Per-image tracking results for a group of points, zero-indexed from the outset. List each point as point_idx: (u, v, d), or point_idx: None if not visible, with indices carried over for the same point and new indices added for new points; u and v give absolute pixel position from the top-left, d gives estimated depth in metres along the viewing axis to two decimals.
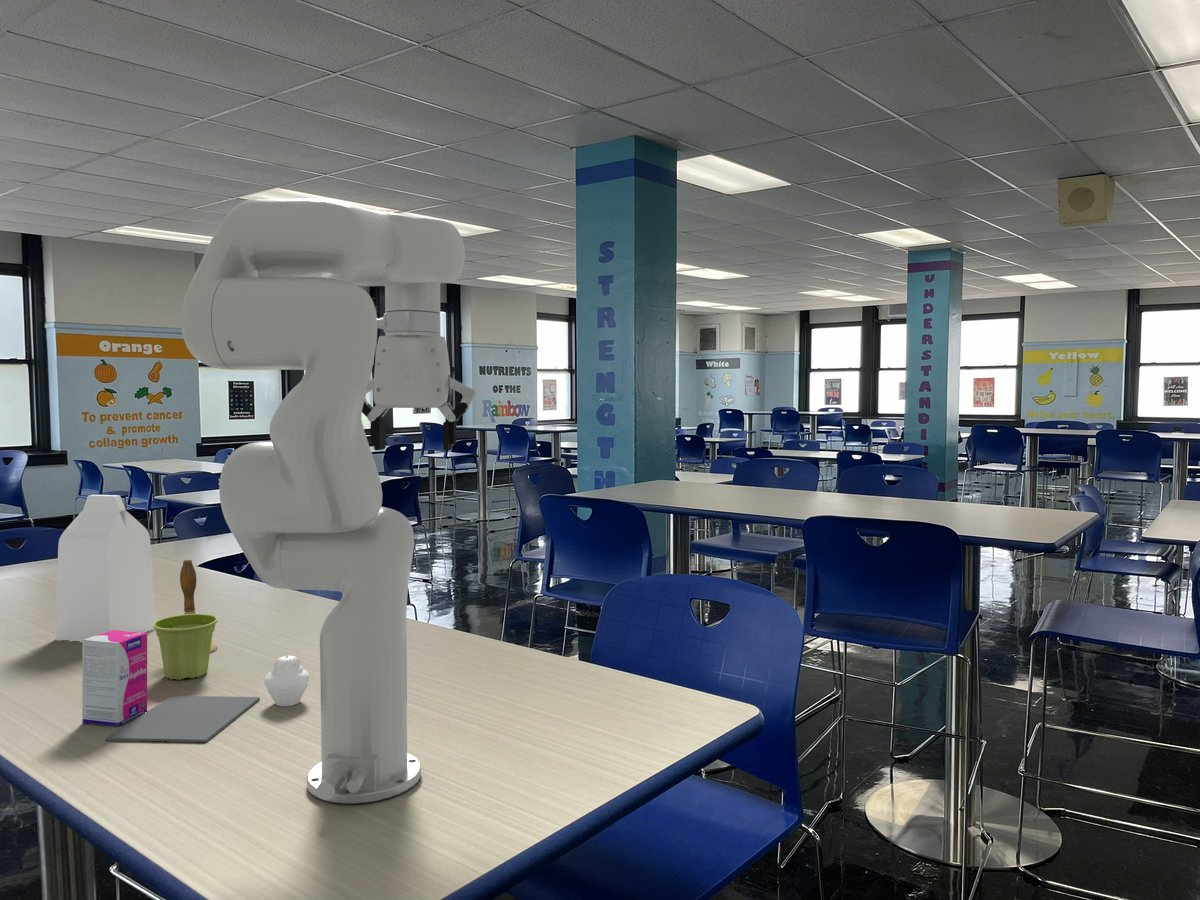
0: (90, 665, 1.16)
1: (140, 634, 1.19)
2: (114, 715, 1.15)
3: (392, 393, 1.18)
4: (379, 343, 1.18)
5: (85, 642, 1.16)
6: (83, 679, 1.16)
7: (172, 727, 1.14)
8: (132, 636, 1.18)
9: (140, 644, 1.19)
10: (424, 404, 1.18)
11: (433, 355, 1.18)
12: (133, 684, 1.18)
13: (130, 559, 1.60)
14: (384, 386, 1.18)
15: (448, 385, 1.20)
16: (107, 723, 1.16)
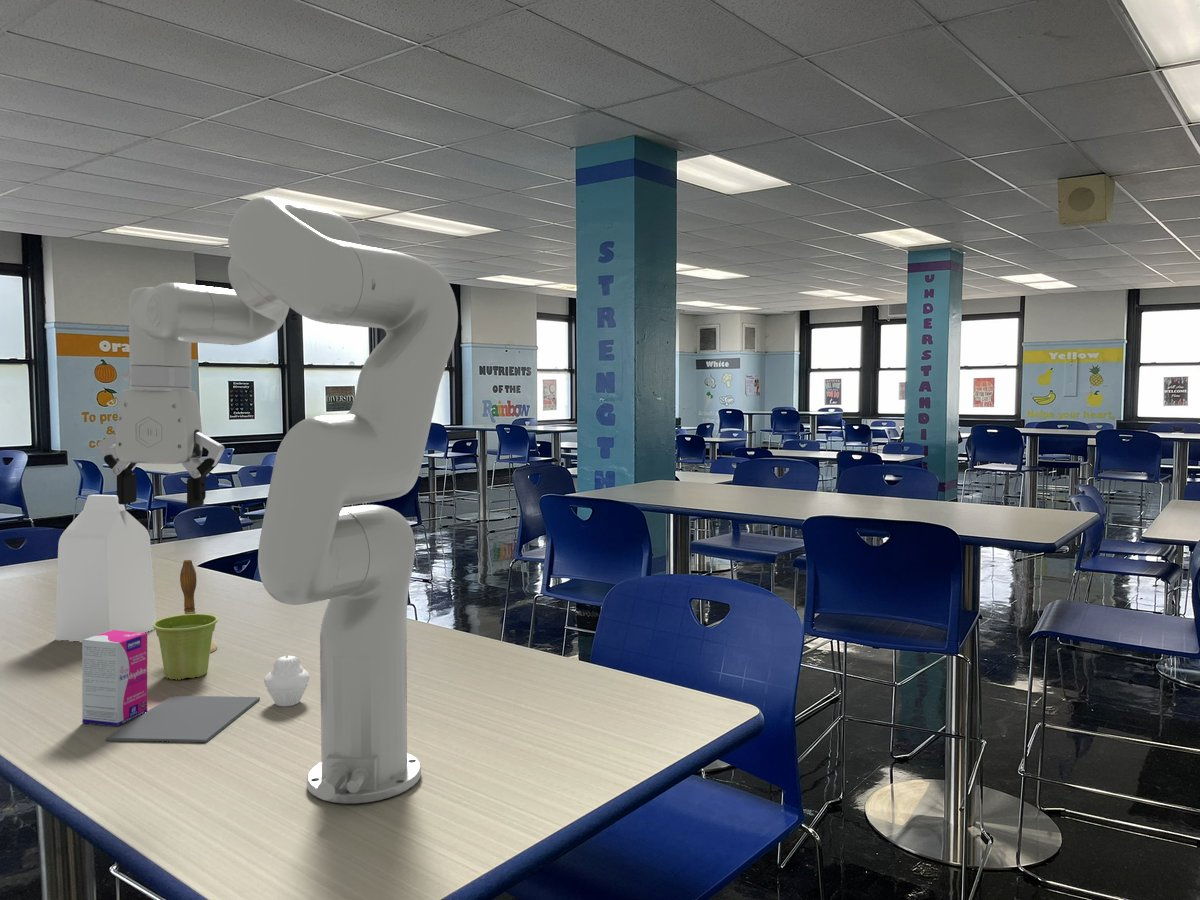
0: (90, 665, 1.16)
1: (140, 634, 1.19)
2: (114, 715, 1.15)
3: (133, 448, 1.16)
4: (122, 397, 1.16)
5: (85, 642, 1.16)
6: (83, 679, 1.16)
7: (172, 727, 1.14)
8: (132, 636, 1.18)
9: (140, 644, 1.19)
10: (165, 460, 1.16)
11: (175, 411, 1.15)
12: (133, 684, 1.18)
13: (130, 559, 1.60)
14: (125, 441, 1.16)
15: (193, 441, 1.17)
16: (107, 723, 1.16)
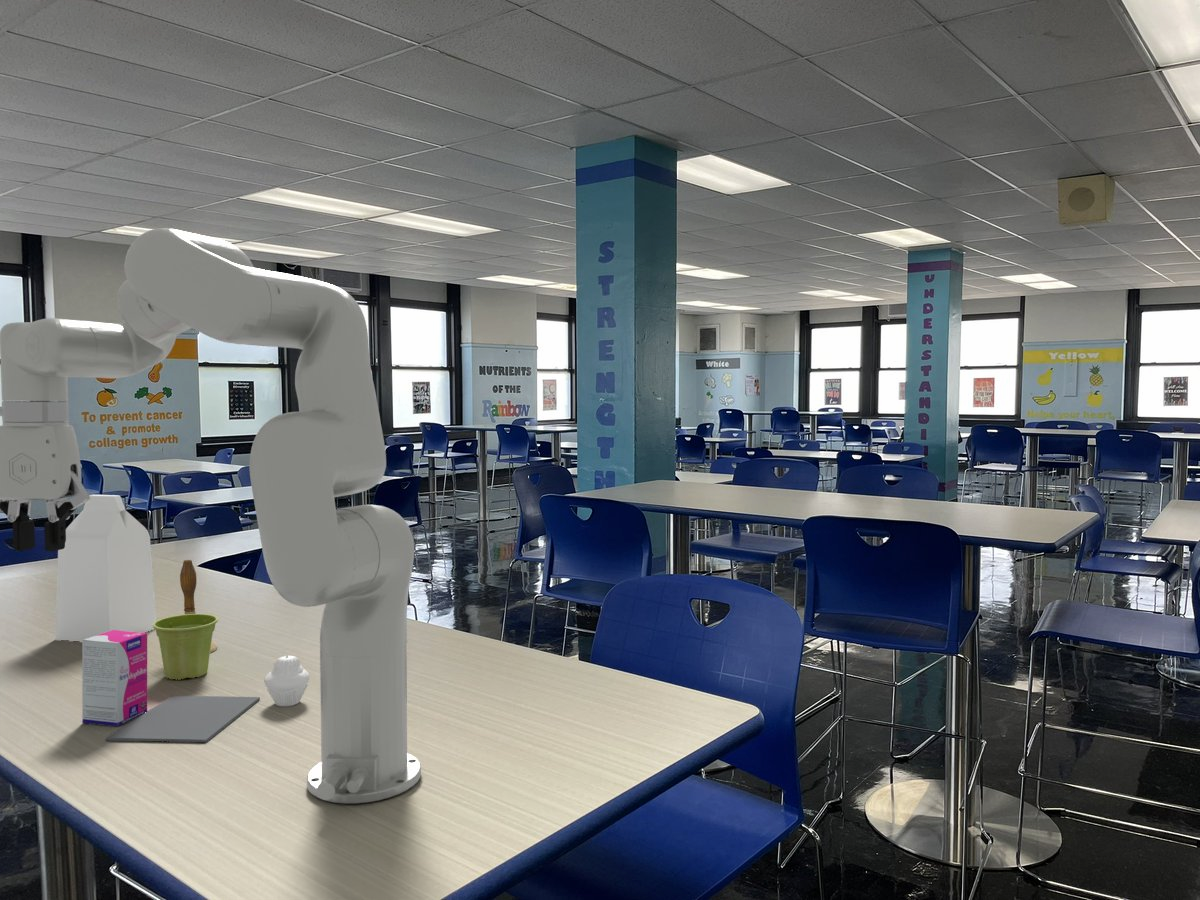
0: (90, 665, 1.16)
1: (140, 634, 1.19)
2: (114, 715, 1.15)
3: (7, 485, 1.15)
4: None
5: (85, 642, 1.16)
6: (83, 679, 1.16)
7: (172, 727, 1.14)
8: (132, 636, 1.18)
9: (140, 644, 1.19)
10: (40, 496, 1.15)
11: (49, 446, 1.14)
12: (133, 684, 1.18)
13: (130, 559, 1.60)
14: None
15: (70, 476, 1.16)
16: (107, 723, 1.16)
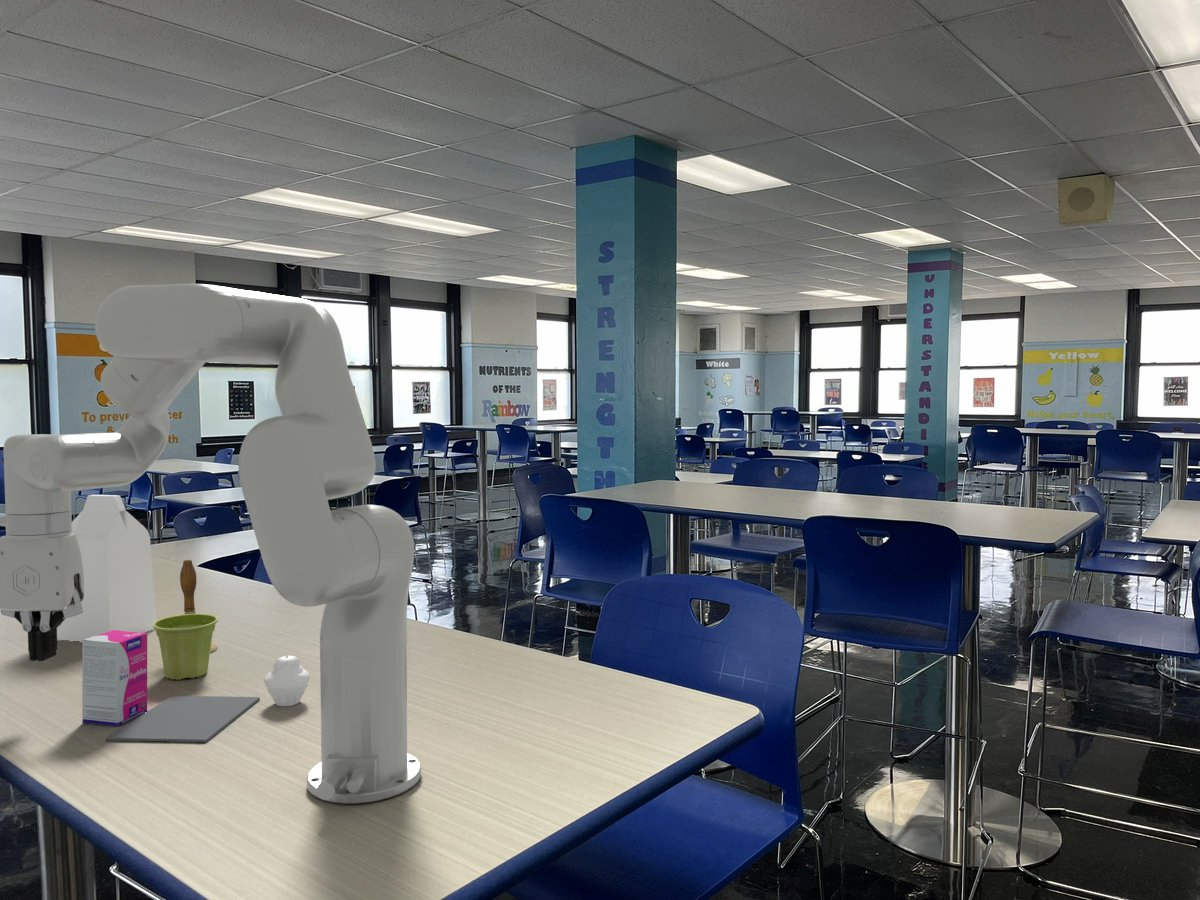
0: (90, 665, 1.16)
1: (140, 634, 1.19)
2: (114, 715, 1.15)
3: (11, 596, 1.15)
4: None
5: (85, 642, 1.16)
6: (83, 679, 1.16)
7: (172, 727, 1.14)
8: (132, 636, 1.18)
9: (140, 644, 1.19)
10: (43, 608, 1.15)
11: (52, 558, 1.15)
12: (133, 684, 1.18)
13: (130, 559, 1.60)
14: (2, 589, 1.15)
15: (73, 586, 1.17)
16: (107, 723, 1.16)
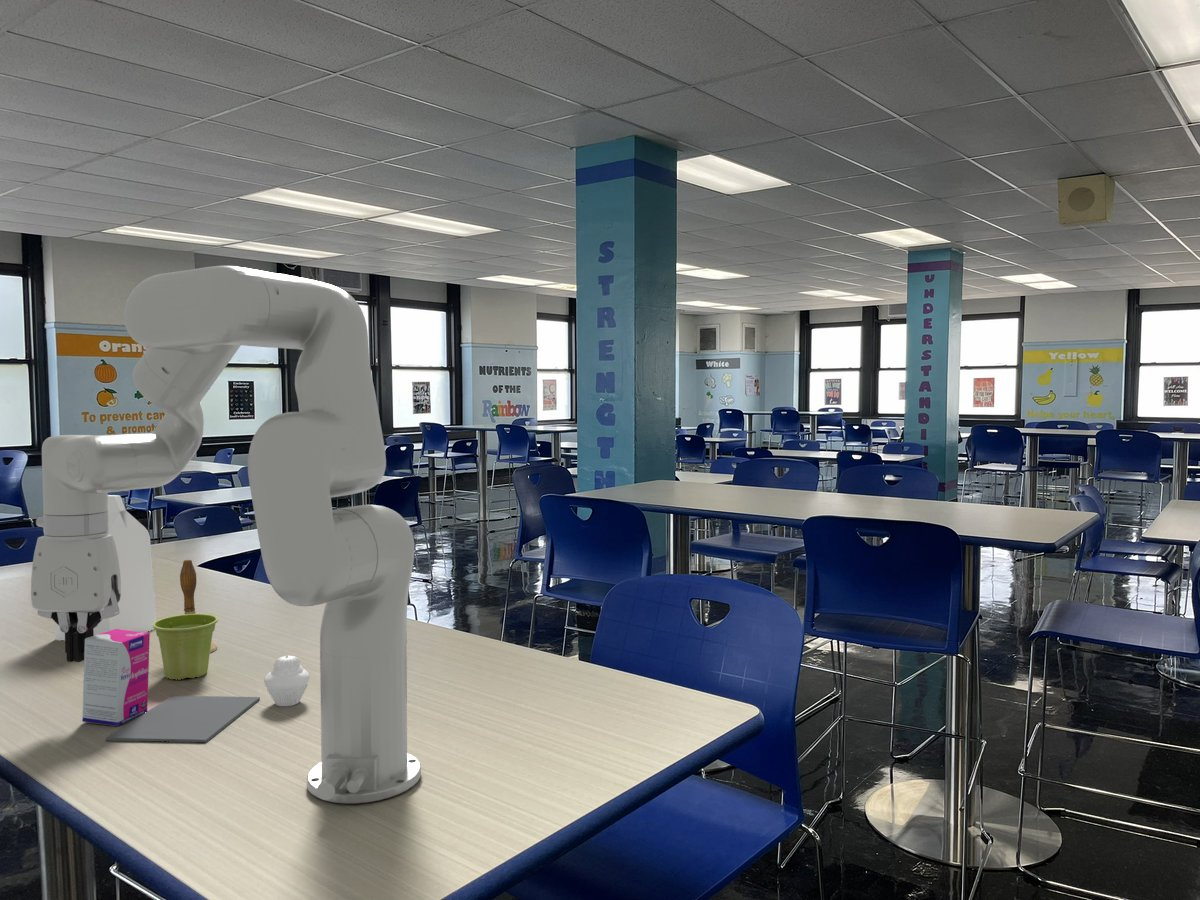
0: (92, 664, 1.16)
1: (142, 634, 1.19)
2: (115, 714, 1.15)
3: (48, 597, 1.15)
4: (36, 546, 1.15)
5: (87, 640, 1.16)
6: (84, 678, 1.16)
7: (172, 727, 1.14)
8: (134, 636, 1.18)
9: (142, 644, 1.19)
10: (81, 609, 1.15)
11: (90, 559, 1.15)
12: (134, 684, 1.18)
13: (130, 559, 1.60)
14: (40, 590, 1.15)
15: (110, 587, 1.17)
16: (107, 722, 1.16)
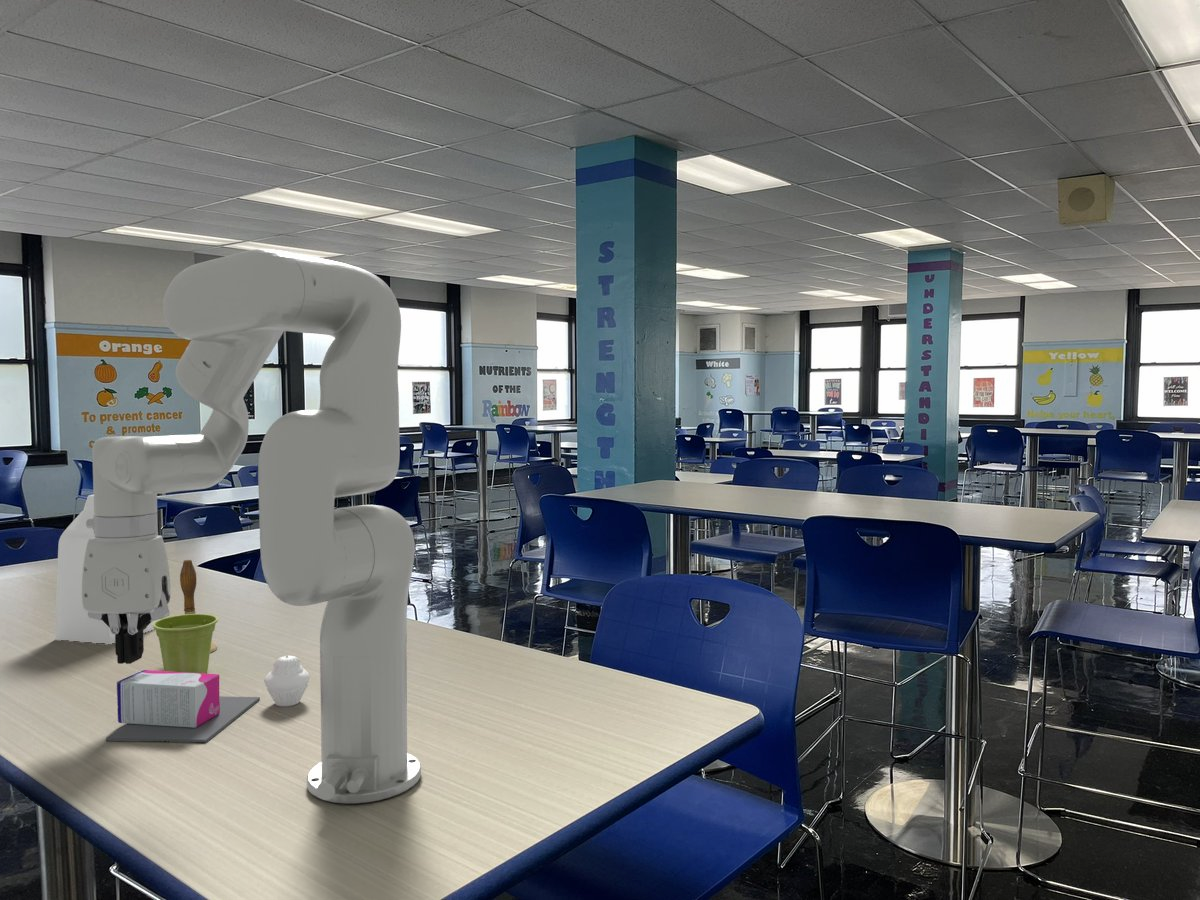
0: (171, 695, 1.14)
1: (215, 713, 1.18)
2: (127, 720, 1.15)
3: (99, 599, 1.15)
4: (87, 547, 1.15)
5: (192, 690, 1.13)
6: (157, 686, 1.14)
7: (172, 727, 1.14)
8: (210, 715, 1.17)
9: None
10: (132, 610, 1.15)
11: (141, 561, 1.15)
12: None
13: None
14: (91, 592, 1.15)
15: (161, 588, 1.17)
16: (119, 711, 1.15)
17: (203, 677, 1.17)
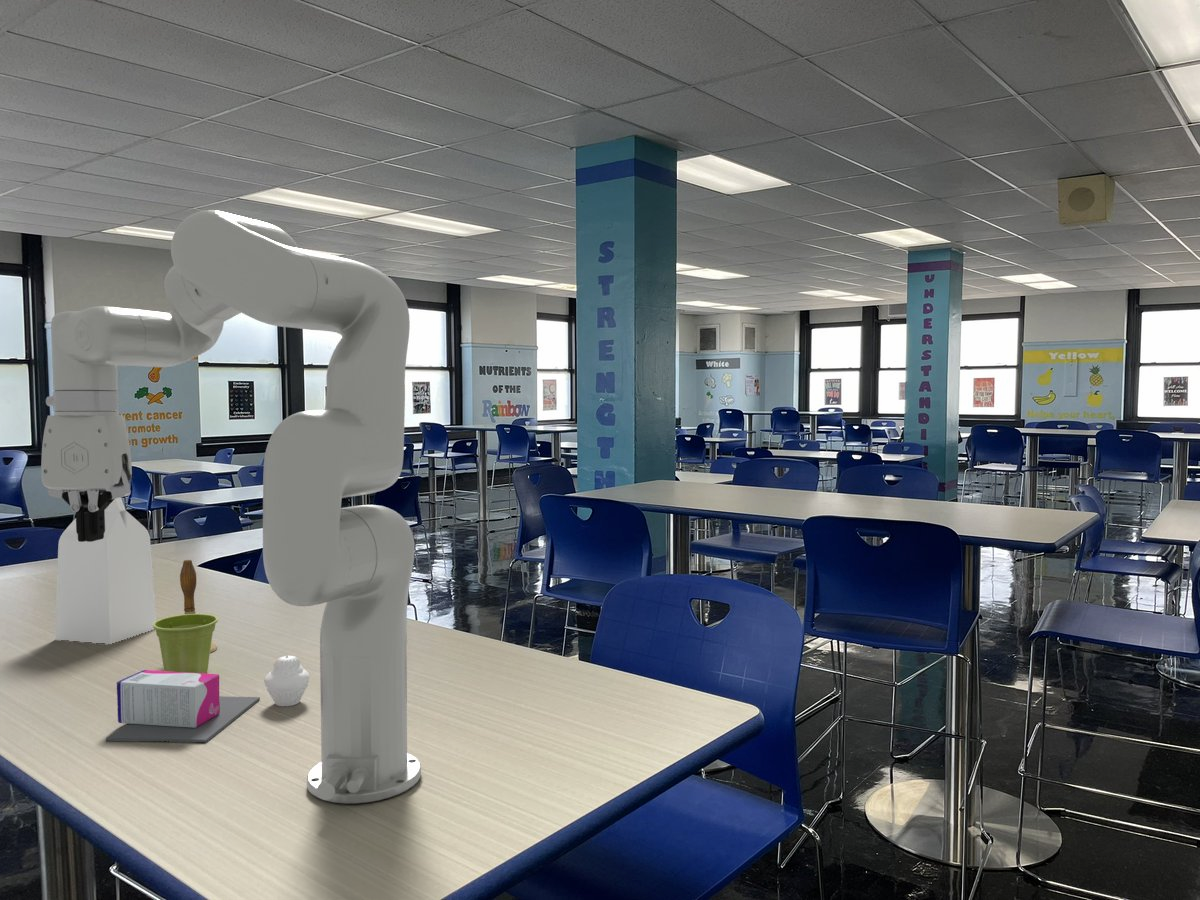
0: (171, 695, 1.14)
1: (215, 713, 1.18)
2: (127, 720, 1.15)
3: (59, 475, 1.14)
4: (46, 423, 1.15)
5: (192, 690, 1.13)
6: (157, 686, 1.14)
7: (172, 727, 1.14)
8: (210, 715, 1.17)
9: None
10: (92, 486, 1.14)
11: (101, 436, 1.14)
12: None
13: (130, 559, 1.60)
14: (51, 467, 1.14)
15: (121, 465, 1.16)
16: (119, 711, 1.15)
17: (203, 677, 1.17)
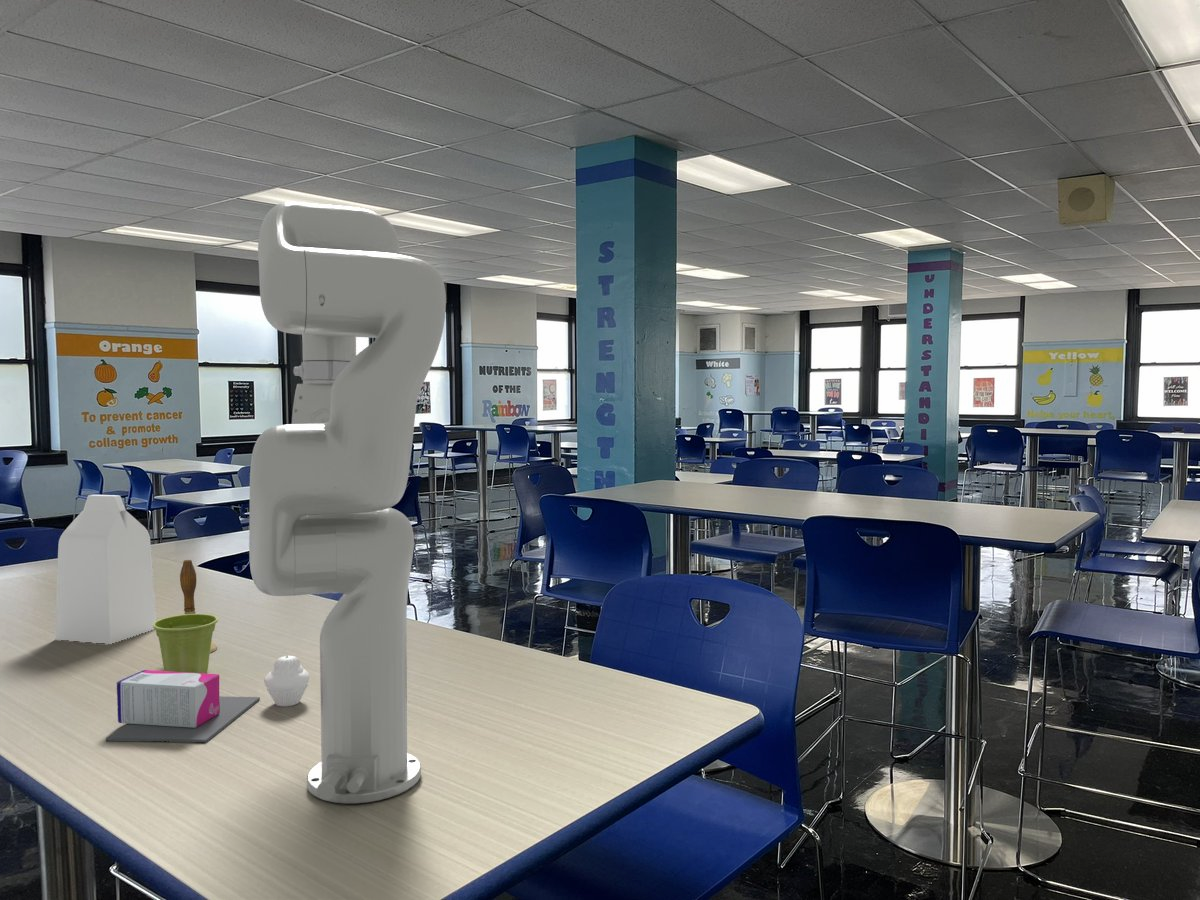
0: (171, 695, 1.14)
1: (215, 713, 1.18)
2: (127, 720, 1.15)
3: None
4: (296, 390, 1.25)
5: (192, 690, 1.13)
6: (157, 686, 1.14)
7: (172, 727, 1.14)
8: (210, 715, 1.17)
9: None
10: None
11: None
12: None
13: (130, 559, 1.60)
14: None
15: None
16: (119, 711, 1.15)
17: (203, 677, 1.17)
